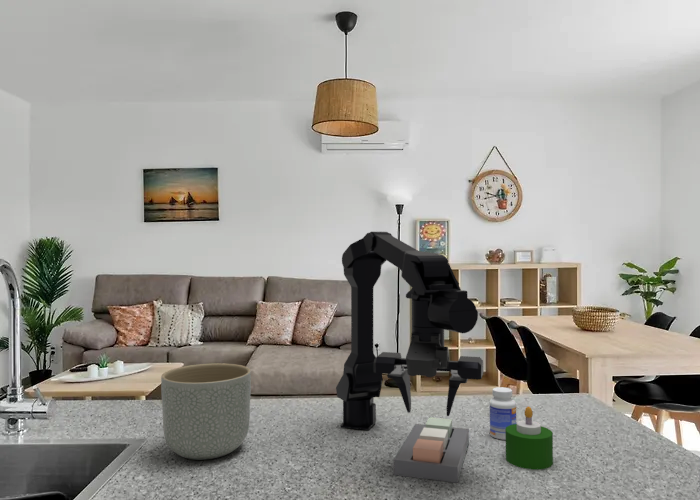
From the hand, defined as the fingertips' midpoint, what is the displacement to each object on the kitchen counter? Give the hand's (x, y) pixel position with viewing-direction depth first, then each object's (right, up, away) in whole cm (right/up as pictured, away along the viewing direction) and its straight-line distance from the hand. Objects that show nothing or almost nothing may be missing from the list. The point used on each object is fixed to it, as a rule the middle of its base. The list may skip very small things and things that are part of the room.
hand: (428, 413), depth 95 cm
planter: (-42, -11, +10) cm, 44 cm away
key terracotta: (0, -8, 0) cm, 8 cm away
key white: (+2, -8, +6) cm, 10 cm away
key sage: (+4, -8, +12) cm, 15 cm away
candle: (+19, -10, +4) cm, 22 cm away
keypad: (+2, -10, +6) cm, 12 cm away
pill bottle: (+18, -10, +17) cm, 27 cm away
